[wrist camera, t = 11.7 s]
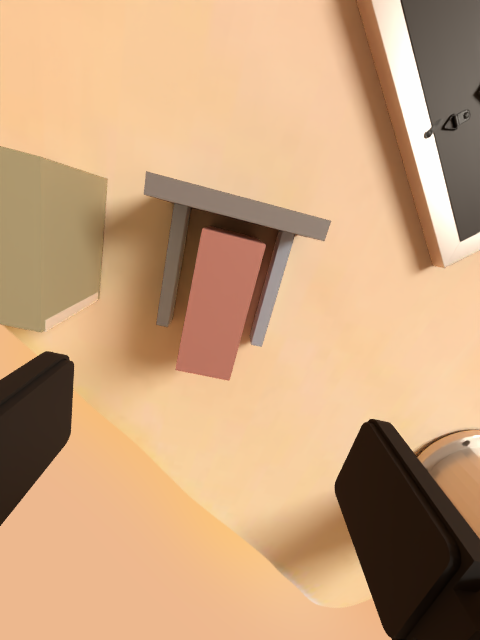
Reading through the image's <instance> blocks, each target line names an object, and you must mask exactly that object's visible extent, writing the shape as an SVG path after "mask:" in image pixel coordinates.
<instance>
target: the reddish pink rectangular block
mask: <svg viewBox="0 0 480 640" xmlns="http://www.w3.org/2000/svg"><path fill="white" fill-rule="evenodd" d="M265 247H266V244H264V243H263V242H262V241H260V240H259V239H258V238H256V237H252V236H248V235H244V234H240V233H236V232H232V231H229V230H225V229H221V228H217V227H213V226H209V227H205V228H202V233H201V237H200V243H199V248H198V253H197V258H196V264H195V269H194V274H193V279H192V285H191V290H190V295H189V300H188V306H187V311H186V316H185V321H184V327H183V332H182V337H181V342H180V348H179V353H178V358H177V364H176V370H178V371H183V372H188V373H193V374H198V375H204V376H209V377H214V378H219V379H224V380H230V376H231V373H232V369H233V365H234V362H235V358H236V354H237V350H238V347H239V343H240V339H241V336H242V332H243V328H244V325H245V321H246V317H247V314H248V310H249V306H250V302H251V299H252V295H253V291H254V288H255V284H256V280H257V277H258V273H259V269H260V266H261V262H262V258H263V254H264V251H265Z"/></svg>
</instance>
